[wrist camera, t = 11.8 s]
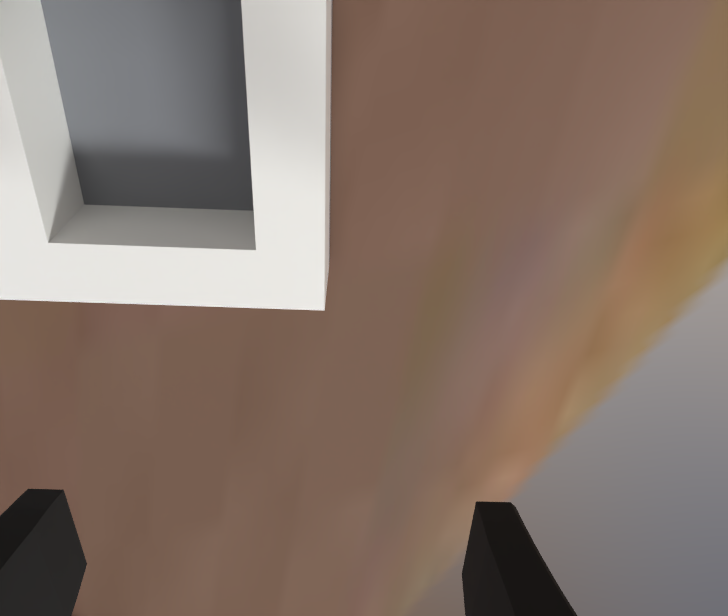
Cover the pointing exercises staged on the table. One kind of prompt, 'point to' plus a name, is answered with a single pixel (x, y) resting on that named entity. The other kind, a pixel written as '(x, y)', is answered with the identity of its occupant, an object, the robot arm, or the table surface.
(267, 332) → the table surface
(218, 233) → the white frame
